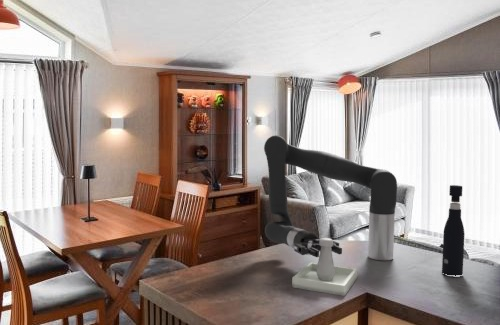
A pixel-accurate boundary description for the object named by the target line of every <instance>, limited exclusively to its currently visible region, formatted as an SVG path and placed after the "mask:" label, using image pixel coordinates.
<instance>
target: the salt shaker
mask: <svg viewBox="0 0 500 325" xmlns="http://www.w3.org/2000/svg"><path fill="white" fill-rule="evenodd" d="M333 241H334V240H333V239H332V238H331V237H330V238H329V237H322V238H320V242H319V245H320V246H321V250H320V252H319V257H318V261H317V263H318V266H317V271H316V273H317V276H318V278H319V280H321V281H331V280H332V279H333V277H334V275H335V269H334V266H335V263H334V258H333V252H332V250H331V247H332V246H333Z"/></svg>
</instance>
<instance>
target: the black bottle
mask: <svg viewBox="0 0 500 325" xmlns="http://www.w3.org/2000/svg"><path fill="white" fill-rule="evenodd" d="M448 192H449V196H451V200H450V201H451V202H450V204H449V209H448V217H447V220H446V222H445V224H444V228H443V235H442V236H443V240H442V259H441V260H442V264H441V265H442V267H441V274H442V273H444V274H447V275H455V276H456V275H462V274H463V275H464V255H465V251H464V250H465V228H464V223H463V220H462V209H461V208H462V206H461V203H460V202H461V201H460V200H461V199H460V198H461V197H462V196H463V186H462V185H458V184H457V185H455V184H451V185H449V191H448Z"/></svg>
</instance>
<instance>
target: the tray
mask: <svg viewBox="0 0 500 325" xmlns="http://www.w3.org/2000/svg"><path fill="white" fill-rule="evenodd" d="M317 266H318V262H311V261H310V262H309V263H308V264H306V265H305V266H304V267H303V268H302V269H300V270H299V271H298V272H297V273H296V274H295V275H293V276H292V278H291V279H292V280H291V282H292V283H291V284H292V285H291V286H292V288H293V289H294V288H295V289H301V290H305V291H306V290H307V291H312V292H317V293H318V292H319V293H323V294H324V293H325V294H329V295H330V294H331V295H336V296H342V297H344V296H346V294H347V293H348V292H349V290H350V289H351V287H352V286H353V284H354V283H355V282H356V280H357V279H358V268H355V267H353V268H352V267H348V266H347V267H346V266H341V265H340V266H339V265H334V269H335V275H334V277H333V279H332V280H331V281H321V280H319V278H318V276H317V273H316V271H317Z"/></svg>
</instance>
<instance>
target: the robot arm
mask: <svg viewBox="0 0 500 325" xmlns="http://www.w3.org/2000/svg"><path fill="white" fill-rule="evenodd" d="M263 150H264V154H265V156H266V160H267V161H266V162H267V168H268V212H269V214H271V215H273V216H276V217H278V219H279V221H270V222H268V223H267V224H266V225H265V227H264V234H265V237H266V238H267V239H268V240H270V241H271V242H274V243H279V244H284V245H285V246H288V247H290V248H291V249H292V250H293V251H294V252H296V253H298V254H299V255H301V256H305V255H306V256H307V255H308V256H312V257H315V258H319V255H320V250H321V246H320V245H319V242H320V239H321V238H320V239H319V238H318V236H317V235H316V234H315V233H313V232H311V231H308V230H307V229H302V228H298V227H296V226H293V224H292V220H291V216H290V212H289V210H288V205H289V204H288V190H287V181H286V165H290V166H293V167H297V168H300V169H303V170H304V171H307V172H309V173H313V174H316V175H318V176H321V177H324V178H327V179H331V180H335V181H340V182H348V183H349V182H350V183H354V184H357V185H361V186H363V187H365V188H367V189H370V202H369V209H368V210H369V211H368V212H369V214H368V215H369V216H368V222H369V223H368V246H367V257H368V258H369V259H371V260H376V261H391V260H393V259H394V249H395V248H394V247H395V222H396V221H395V217H396V216H395V215H396V213H395V212H396V207H397V193H398V182H397V178H396V176H395V174H393V173H392V172H391V171H389V170H387V169H383V168H382V169H381V168H376V167H371V166H366V165H362V164H359V163H357V162H354V161H353V160H350V159H347V158H345V157H342V156H340V155H336V154H333V153H331V152H327V151H322V150H315V149H304V148H301V147H297V146H294V145H291V143H288V142H287V141H286V139H285V138H284V137H282V136H280V135H272V136H270V137H268V138H267V139H266V141H265V142H264V146H263ZM331 250H332V253H335V254H337V255H342V253H343V248H342V247H341V246H340V242H337V241H335V240H333V246H332V247H331Z"/></svg>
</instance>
